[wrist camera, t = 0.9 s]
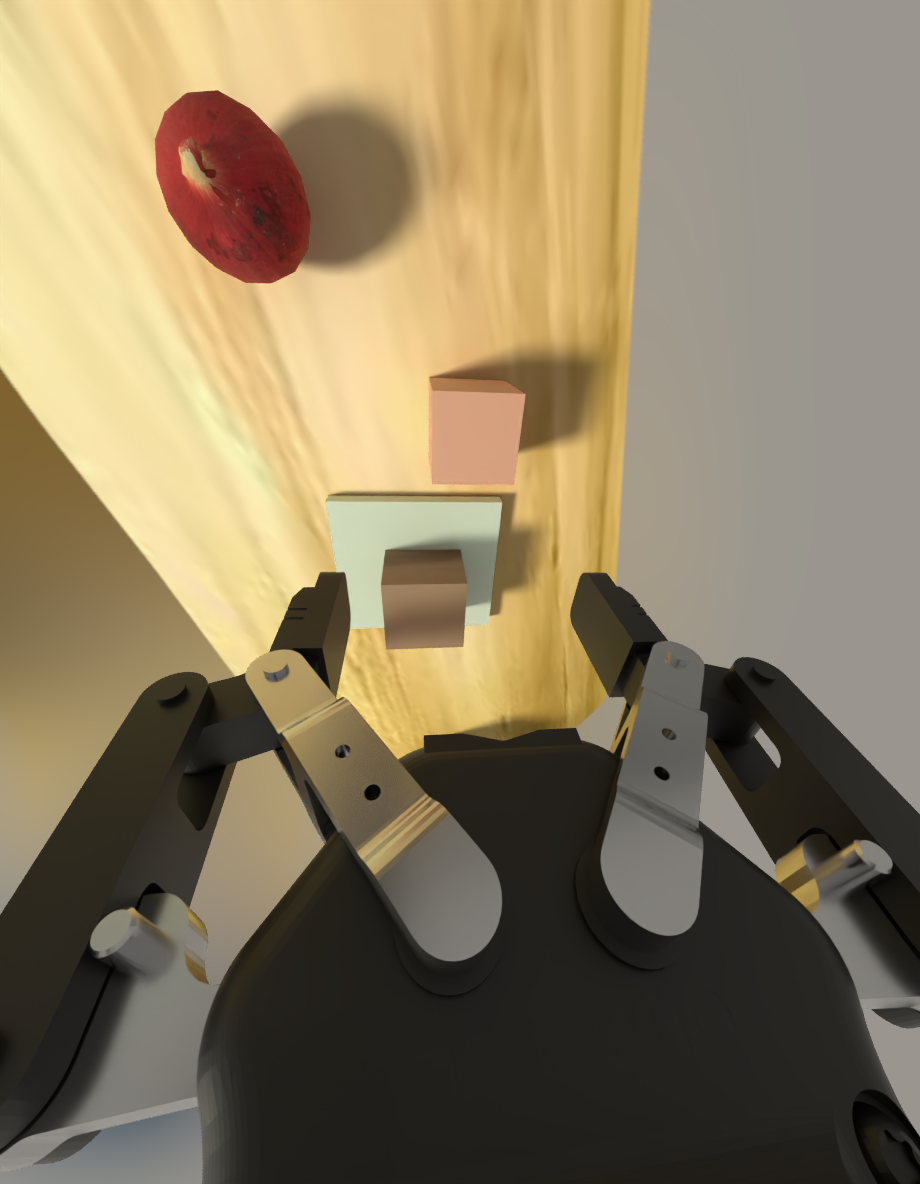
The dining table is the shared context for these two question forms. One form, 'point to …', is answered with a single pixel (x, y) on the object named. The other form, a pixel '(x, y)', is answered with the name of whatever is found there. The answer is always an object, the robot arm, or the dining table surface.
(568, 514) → the dining table surface
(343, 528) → the sage board
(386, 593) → the walnut block
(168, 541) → the dining table surface
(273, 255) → the red oval piece
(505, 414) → the terracotta block
